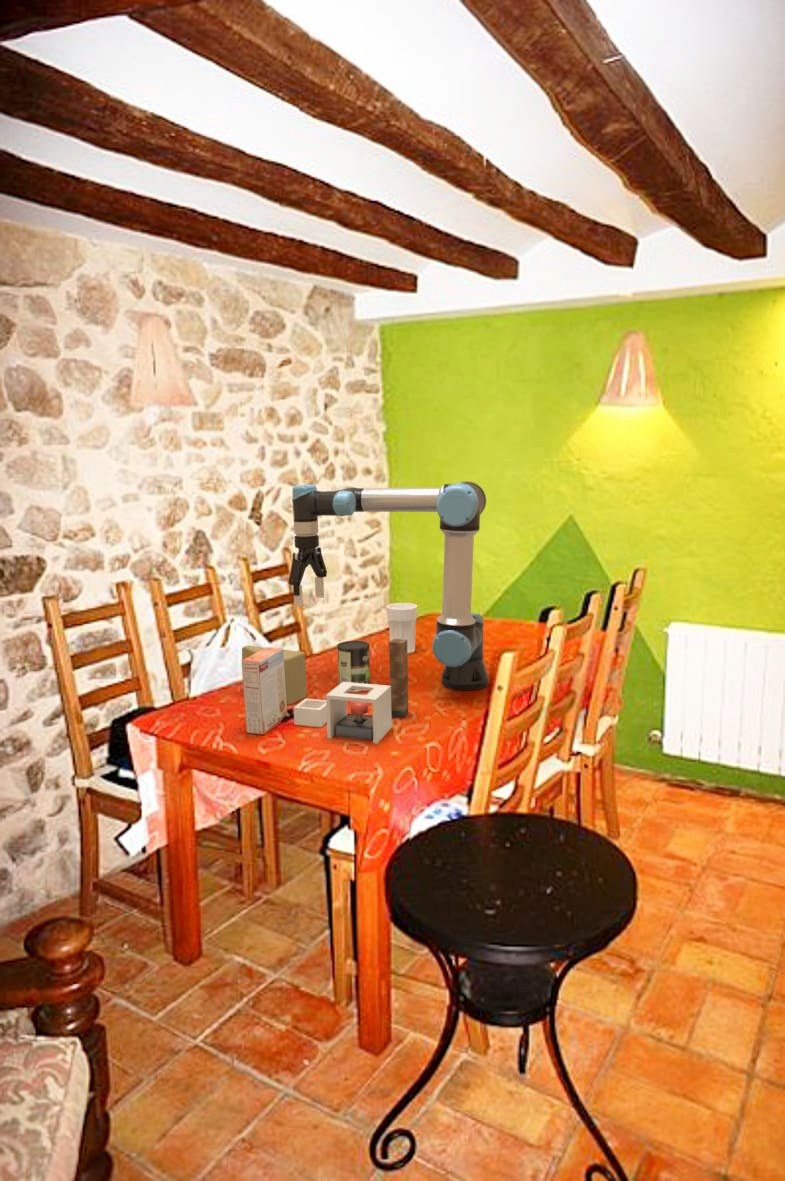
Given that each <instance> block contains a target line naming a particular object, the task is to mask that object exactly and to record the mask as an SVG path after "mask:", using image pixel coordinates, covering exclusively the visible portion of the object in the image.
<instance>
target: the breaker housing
mask: <svg viewBox="0 0 785 1181" xmlns="http://www.w3.org/2000/svg"><path fill="white" fill-rule="evenodd" d="M363 722H364V723H358V722H356V714H352V713H351V712H350V713H347V715H346V716H345V717H344V718H343V719H342V720H341V721H340V722H338V723H337V724H336V734H335V735H336V738H341V739H343V738H344V739H351V740H361V741H370V742H373V715H369V714H363Z"/></svg>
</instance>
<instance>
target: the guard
mask: <svg viewBox="0 0 785 1181" xmlns="http://www.w3.org/2000/svg"><path fill="white" fill-rule="evenodd" d="M352 689H354V690H365V691H368V693H367V694H357V693H350V692H349V691H351V690H352ZM325 700H326V712H327V722H326V734H327V739H332V738H334V737H335V735H337V734H336V724H337V723H338V722H340V721H341V720H342V719H343V718H344V717H345V716H346V715H347V714H348V702H352V701H356V702H367V703H368V704H372V716H373V740H372V743H373V744H377V745H378V743H379V742H380V741H381V740H382V739H383V738H384V737H385V736H386V734H388V733H389V732H390V730H391V729H392V723H393V721H392V720H393V719H392V718H393V717H392V716H391V686H390V685H385V684H384V685H383V684H373V683H370V684H364V683H352V682H342V683H341V684H339V683H338V685H337V686H335V688H333V689H332V690H331V691H329V692H328V693H327V694H325Z"/></svg>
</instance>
